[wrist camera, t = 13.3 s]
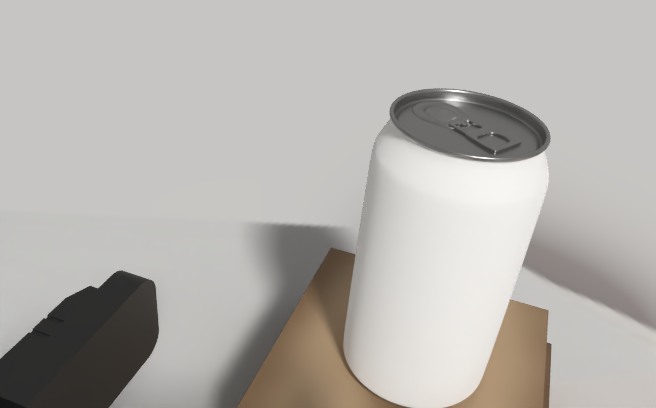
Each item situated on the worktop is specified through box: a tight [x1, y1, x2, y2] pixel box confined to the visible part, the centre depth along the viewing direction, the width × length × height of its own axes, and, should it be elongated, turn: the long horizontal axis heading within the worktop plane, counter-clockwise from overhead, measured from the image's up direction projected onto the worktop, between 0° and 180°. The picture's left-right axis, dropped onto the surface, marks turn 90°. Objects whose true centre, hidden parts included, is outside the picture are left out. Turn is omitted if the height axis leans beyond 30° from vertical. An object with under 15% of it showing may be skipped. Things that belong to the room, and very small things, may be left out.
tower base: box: [237, 248, 551, 408], centre depth 29 cm, size 14×14×6 cm
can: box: [343, 89, 550, 408], centre depth 24 cm, size 6×6×12 cm
